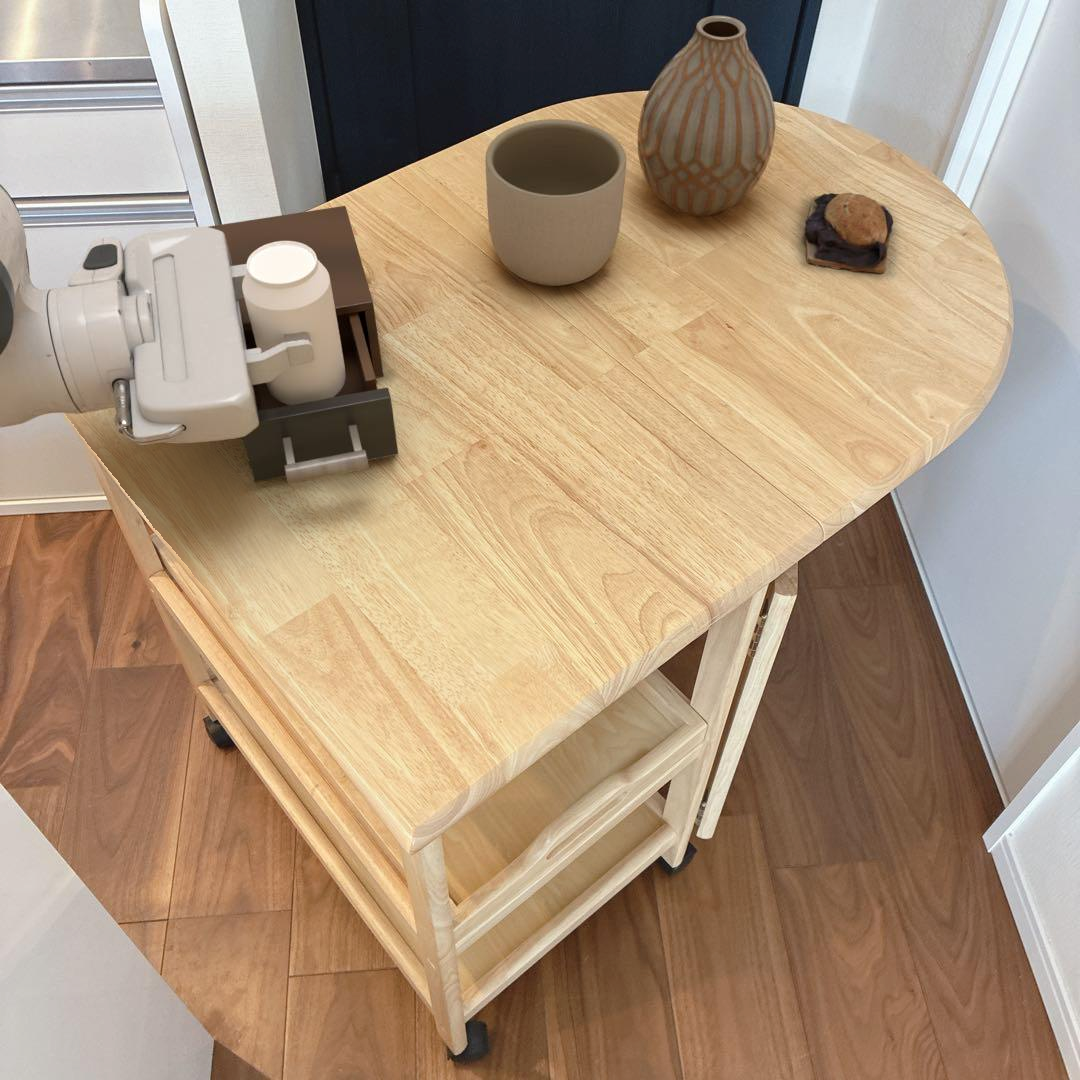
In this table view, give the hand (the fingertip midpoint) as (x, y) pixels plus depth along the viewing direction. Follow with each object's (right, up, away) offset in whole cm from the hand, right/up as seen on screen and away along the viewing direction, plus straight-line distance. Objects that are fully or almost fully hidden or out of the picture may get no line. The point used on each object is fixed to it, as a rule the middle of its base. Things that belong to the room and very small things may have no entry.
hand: (304, 312), depth 78 cm
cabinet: (-4, +1, +16) cm, 16 cm away
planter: (+19, +10, +23) cm, 32 cm away
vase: (+33, +18, +30) cm, 48 cm away
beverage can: (-1, -5, +6) cm, 7 cm away
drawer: (-1, -8, +8) cm, 11 cm away
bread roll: (+48, +13, +26) cm, 56 cm away
